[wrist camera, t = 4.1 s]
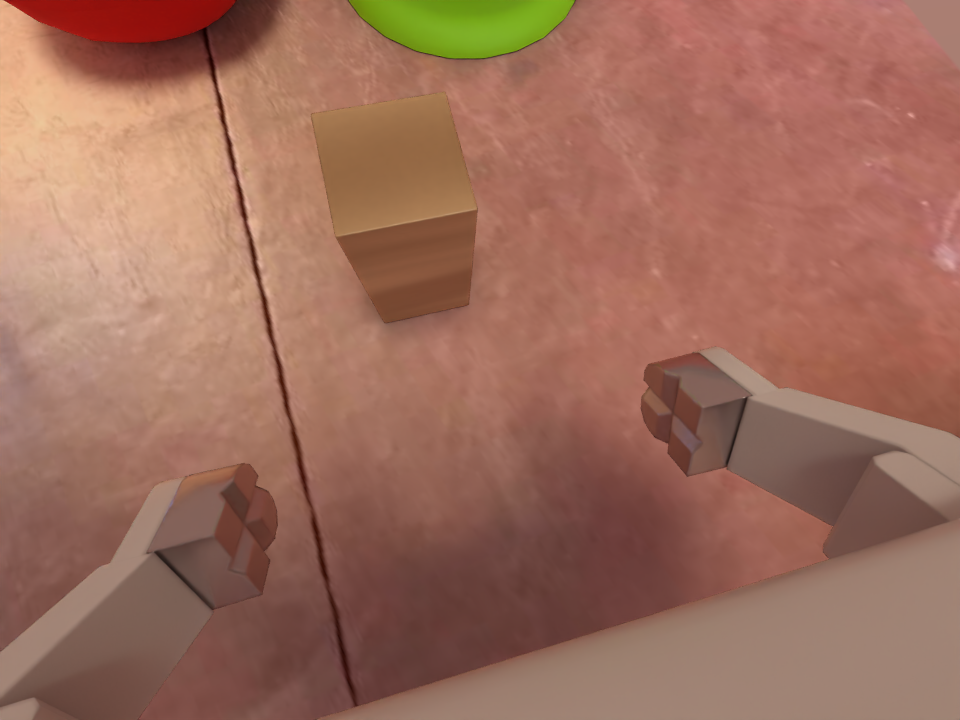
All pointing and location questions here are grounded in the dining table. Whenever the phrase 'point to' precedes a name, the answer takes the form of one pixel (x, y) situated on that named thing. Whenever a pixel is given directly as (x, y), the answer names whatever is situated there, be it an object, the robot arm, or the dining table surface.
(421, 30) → the wineglass
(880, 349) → the dining table surface
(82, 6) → the tomato
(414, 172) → the block
